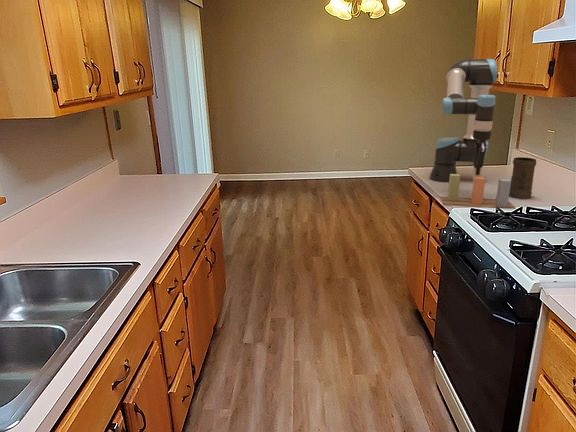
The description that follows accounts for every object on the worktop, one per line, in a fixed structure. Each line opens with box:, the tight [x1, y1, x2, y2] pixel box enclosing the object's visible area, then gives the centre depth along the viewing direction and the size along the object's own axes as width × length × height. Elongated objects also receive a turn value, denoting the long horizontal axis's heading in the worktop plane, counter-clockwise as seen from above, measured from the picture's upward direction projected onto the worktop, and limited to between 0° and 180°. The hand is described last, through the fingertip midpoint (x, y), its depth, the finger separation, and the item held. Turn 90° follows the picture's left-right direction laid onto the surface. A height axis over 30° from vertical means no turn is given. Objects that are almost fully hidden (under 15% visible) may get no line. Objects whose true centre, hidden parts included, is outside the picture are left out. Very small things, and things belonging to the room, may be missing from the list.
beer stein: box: [509, 157, 537, 200], centre depth 221 cm, size 15×11×20 cm
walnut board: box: [439, 196, 517, 210], centre depth 212 cm, size 15×31×1 cm, turn 80°
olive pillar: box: [446, 173, 461, 201], centre depth 214 cm, size 4×4×12 cm
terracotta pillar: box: [470, 176, 486, 205], centre depth 209 cm, size 4×4×12 cm
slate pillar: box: [495, 178, 511, 207], centre depth 204 cm, size 4×4×12 cm
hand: (475, 181), depth 214 cm, fingers closed
